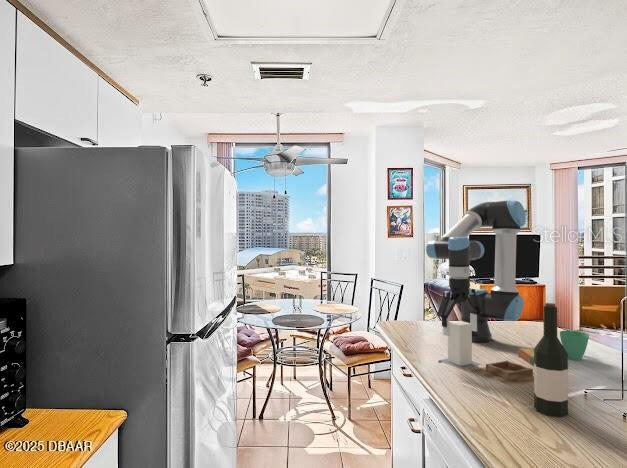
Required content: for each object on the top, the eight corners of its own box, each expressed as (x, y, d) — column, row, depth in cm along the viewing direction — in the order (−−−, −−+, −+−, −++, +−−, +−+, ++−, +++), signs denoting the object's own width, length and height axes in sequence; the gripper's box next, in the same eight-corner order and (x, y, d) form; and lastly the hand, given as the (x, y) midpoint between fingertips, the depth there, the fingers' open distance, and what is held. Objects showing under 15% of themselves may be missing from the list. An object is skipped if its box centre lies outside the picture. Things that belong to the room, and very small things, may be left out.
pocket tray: (469, 371, 148) (469, 362, 148) (505, 365, 155) (505, 356, 155) (512, 388, 132) (512, 378, 132) (550, 380, 139) (550, 370, 139)
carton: (539, 359, 164) (539, 348, 164) (560, 372, 148) (560, 360, 148) (518, 358, 165) (518, 347, 165) (536, 372, 149) (536, 360, 149)
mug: (591, 363, 156) (591, 337, 157) (561, 360, 161) (561, 334, 161) (584, 353, 170) (584, 329, 170) (556, 350, 174) (556, 327, 174)
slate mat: (438, 362, 159) (438, 360, 159) (460, 358, 164) (460, 356, 164) (459, 370, 149) (459, 368, 149) (481, 366, 154) (481, 364, 154)
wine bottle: (527, 405, 119) (527, 301, 119) (555, 404, 120) (554, 301, 120) (546, 417, 111) (545, 306, 111) (575, 416, 111) (574, 306, 112)
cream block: (448, 361, 158) (448, 322, 158) (460, 359, 160) (459, 320, 160) (459, 365, 153) (459, 325, 153) (471, 363, 155) (471, 323, 155)
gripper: (440, 281, 148) (441, 339, 148) (491, 276, 158) (492, 331, 159) (426, 278, 155) (427, 334, 155) (476, 274, 165) (477, 326, 165)
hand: (460, 333), depth 157 cm, fingers open, 13 cm apart
